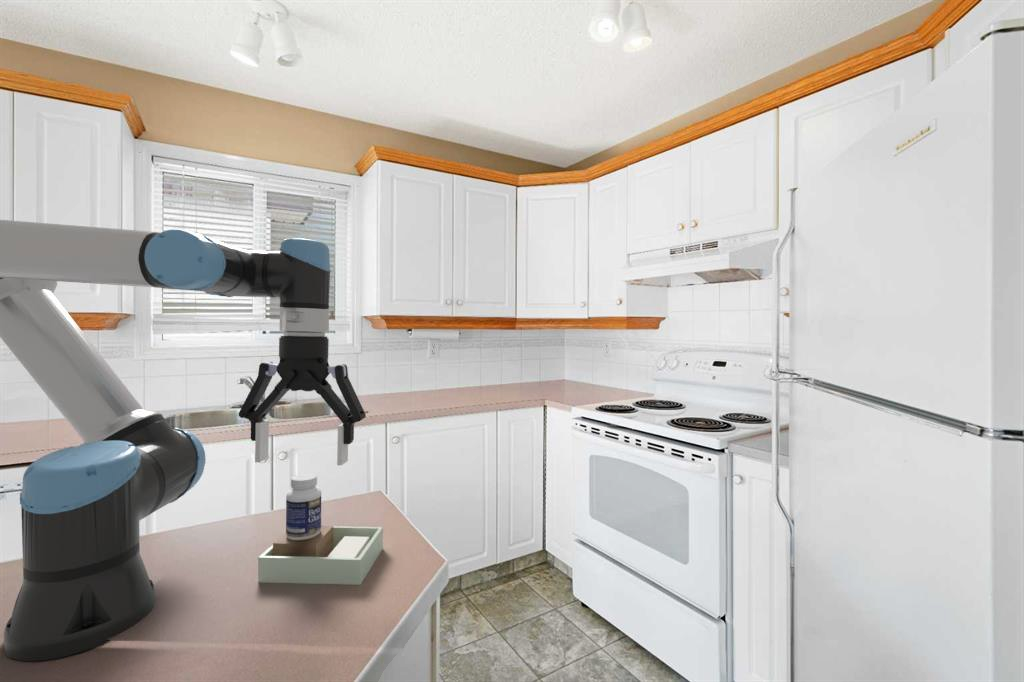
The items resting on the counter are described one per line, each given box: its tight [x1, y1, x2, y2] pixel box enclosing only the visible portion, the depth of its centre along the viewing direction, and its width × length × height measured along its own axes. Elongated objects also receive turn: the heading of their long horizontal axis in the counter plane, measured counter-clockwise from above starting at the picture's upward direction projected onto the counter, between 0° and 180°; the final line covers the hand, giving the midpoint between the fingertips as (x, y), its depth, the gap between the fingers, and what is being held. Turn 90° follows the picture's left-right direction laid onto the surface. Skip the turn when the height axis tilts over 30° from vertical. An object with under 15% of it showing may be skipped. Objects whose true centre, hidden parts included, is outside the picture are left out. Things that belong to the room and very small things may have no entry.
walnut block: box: [272, 525, 334, 557], centre depth 80 cm, size 7×7×5 cm
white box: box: [328, 536, 369, 558], centre depth 80 cm, size 4×8×3 cm, turn 179°
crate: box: [257, 525, 384, 586], centre depth 80 cm, size 16×12×4 cm
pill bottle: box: [285, 473, 322, 541], centre depth 79 cm, size 5×5×10 cm
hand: (302, 461), depth 79 cm, fingers open, 13 cm apart
